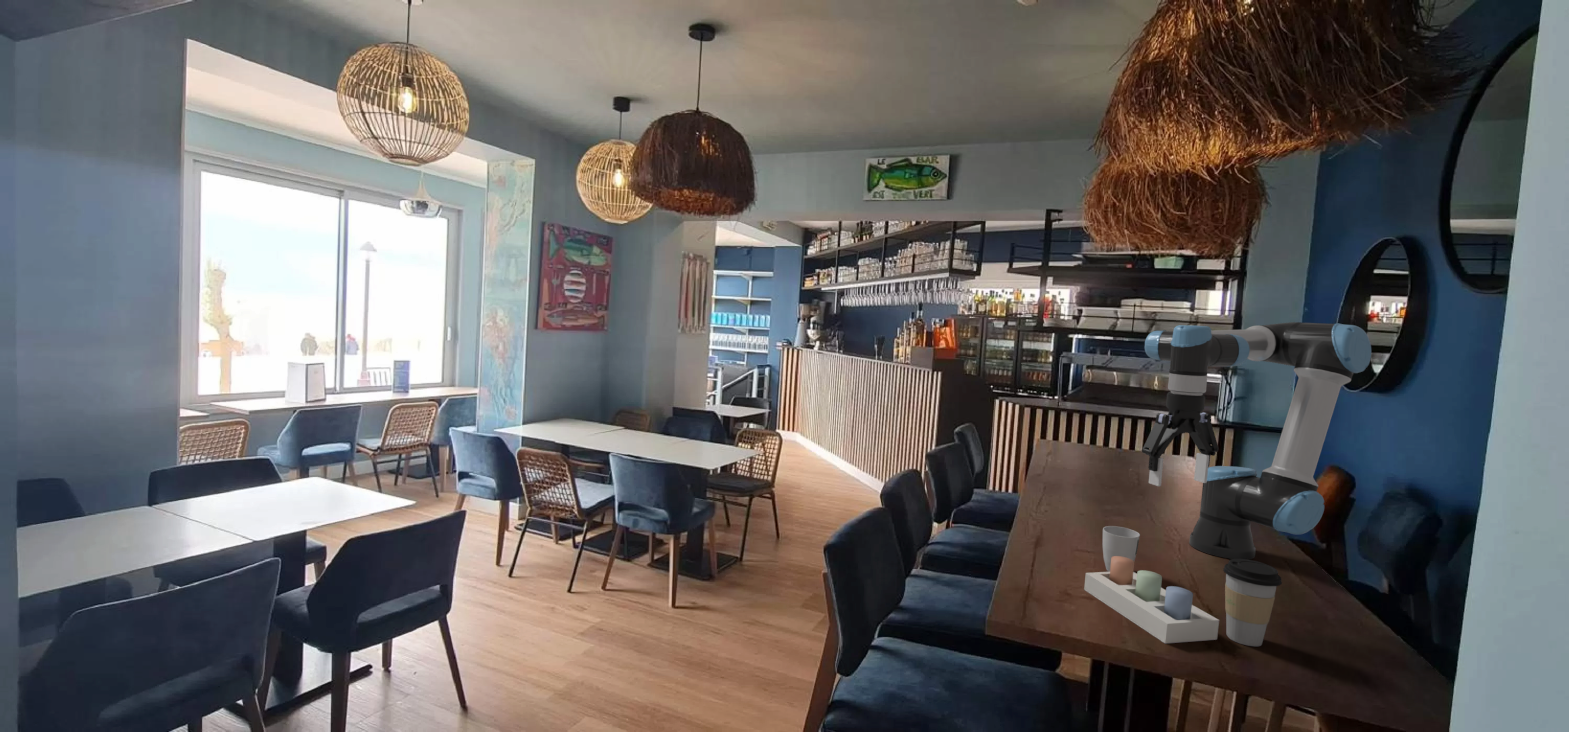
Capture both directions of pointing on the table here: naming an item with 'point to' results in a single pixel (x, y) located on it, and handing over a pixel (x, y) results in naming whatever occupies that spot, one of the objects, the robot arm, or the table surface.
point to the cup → (1119, 543)
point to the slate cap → (1178, 603)
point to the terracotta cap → (1121, 570)
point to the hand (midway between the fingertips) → (1177, 483)
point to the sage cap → (1148, 586)
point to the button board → (1151, 611)
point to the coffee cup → (1249, 599)
